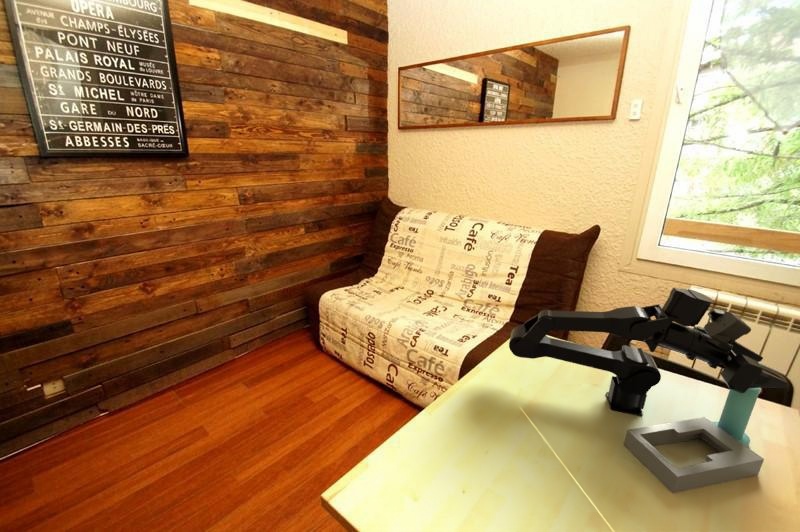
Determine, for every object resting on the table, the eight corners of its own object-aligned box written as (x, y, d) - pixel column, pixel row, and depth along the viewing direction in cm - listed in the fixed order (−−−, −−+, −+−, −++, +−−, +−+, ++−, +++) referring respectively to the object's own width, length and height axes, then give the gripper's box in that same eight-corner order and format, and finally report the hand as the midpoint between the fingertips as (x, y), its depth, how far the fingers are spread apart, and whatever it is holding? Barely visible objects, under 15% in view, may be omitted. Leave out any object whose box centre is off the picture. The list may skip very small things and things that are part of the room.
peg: (716, 444, 72) (734, 391, 68) (702, 423, 78) (718, 373, 74) (755, 452, 71) (776, 398, 66) (738, 430, 76) (756, 379, 72)
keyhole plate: (672, 493, 62) (677, 476, 61) (623, 444, 72) (627, 429, 71) (757, 474, 66) (764, 459, 64) (699, 431, 76) (704, 416, 75)
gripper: (726, 329, 64) (833, 365, 59) (691, 292, 80) (773, 318, 76) (692, 376, 68) (790, 413, 64) (666, 332, 85) (742, 359, 80)
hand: (773, 371), depth 71 cm, fingers open, 9 cm apart
